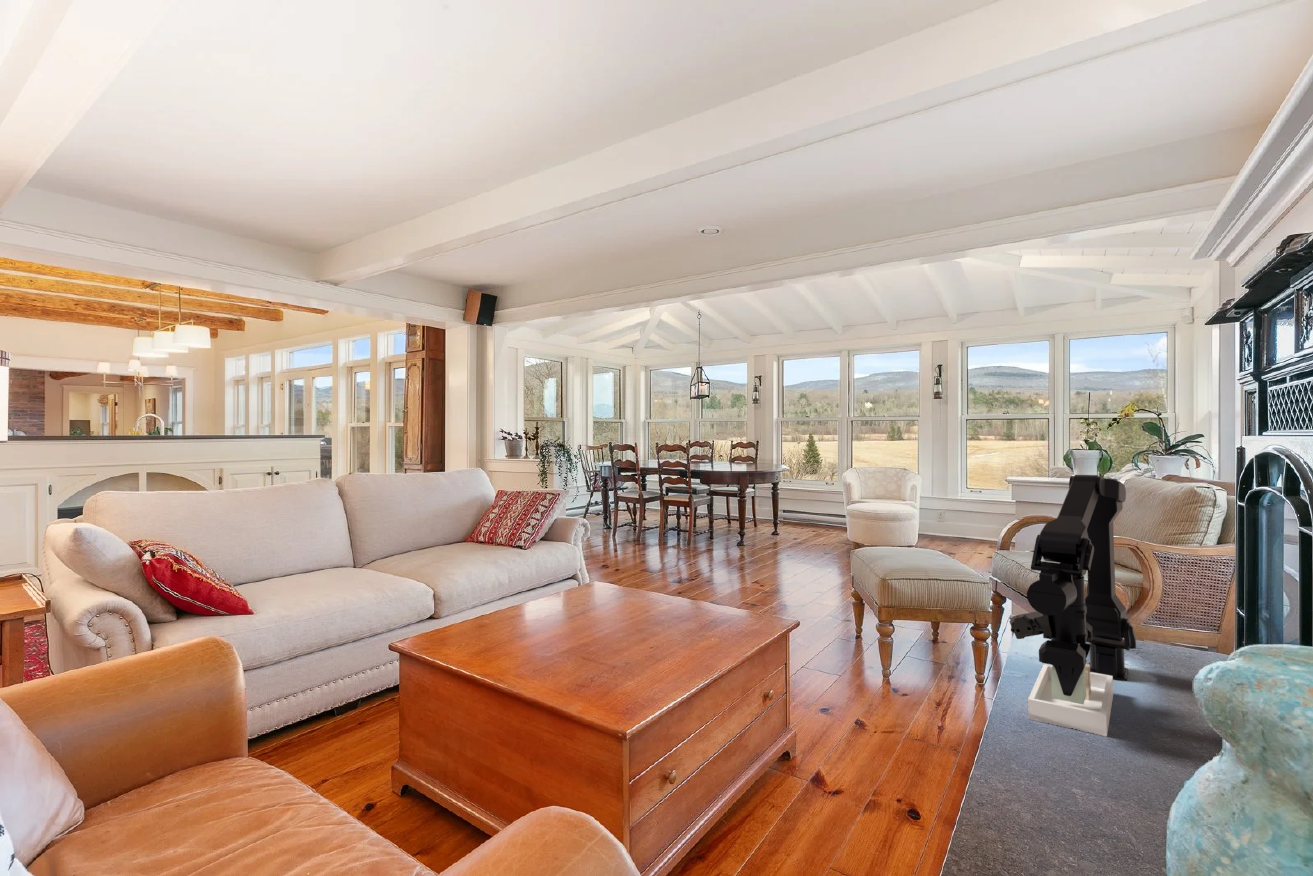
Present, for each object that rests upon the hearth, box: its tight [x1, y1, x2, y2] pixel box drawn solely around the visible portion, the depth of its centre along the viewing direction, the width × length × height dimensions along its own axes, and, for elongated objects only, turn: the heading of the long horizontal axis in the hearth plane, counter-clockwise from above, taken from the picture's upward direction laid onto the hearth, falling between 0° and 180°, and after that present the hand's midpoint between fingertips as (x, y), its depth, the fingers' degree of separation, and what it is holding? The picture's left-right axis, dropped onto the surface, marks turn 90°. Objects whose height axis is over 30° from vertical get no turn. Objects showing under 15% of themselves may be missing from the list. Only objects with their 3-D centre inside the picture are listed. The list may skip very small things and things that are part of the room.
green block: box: [1051, 666, 1086, 704], centre depth 107 cm, size 4×4×5 cm
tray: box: [1027, 663, 1114, 737], centre depth 111 cm, size 19×11×4 cm, turn 141°
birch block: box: [1085, 663, 1091, 700], centre depth 114 cm, size 4×4×5 cm
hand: (1068, 690), depth 108 cm, fingers closed on green block, 4 cm apart
